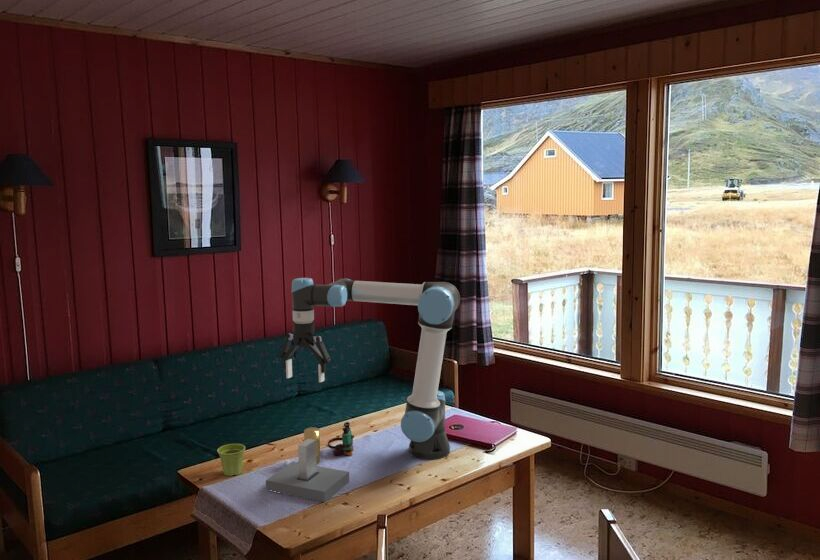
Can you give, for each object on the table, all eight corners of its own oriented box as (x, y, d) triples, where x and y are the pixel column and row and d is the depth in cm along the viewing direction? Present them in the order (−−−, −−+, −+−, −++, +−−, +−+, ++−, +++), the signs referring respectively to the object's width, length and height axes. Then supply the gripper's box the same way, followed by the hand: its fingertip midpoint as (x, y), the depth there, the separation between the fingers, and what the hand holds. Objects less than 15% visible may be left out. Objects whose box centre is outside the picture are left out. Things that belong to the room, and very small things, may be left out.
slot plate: (349, 481, 227) (349, 471, 227) (324, 502, 213) (324, 491, 212) (293, 471, 236) (293, 461, 236) (266, 490, 222) (265, 480, 221)
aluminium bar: (317, 483, 227) (315, 440, 224) (307, 490, 221) (306, 446, 219) (309, 481, 228) (308, 438, 226) (299, 489, 222) (298, 445, 220)
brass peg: (322, 460, 245) (322, 428, 243) (315, 466, 240) (315, 434, 238) (308, 458, 247) (308, 426, 245) (301, 464, 242) (301, 432, 240)
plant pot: (212, 476, 233) (211, 452, 232) (229, 465, 242) (227, 442, 240) (236, 480, 230) (234, 455, 228) (251, 469, 238) (250, 445, 237)
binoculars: (327, 423, 256) (353, 420, 255) (330, 449, 257) (357, 447, 257) (323, 431, 247) (351, 428, 246) (327, 459, 248) (354, 456, 248)
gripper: (268, 321, 244) (270, 378, 247) (328, 326, 234) (330, 385, 237) (280, 317, 251) (282, 373, 254) (339, 322, 241) (340, 380, 244)
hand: (305, 379), depth 246 cm, fingers open, 13 cm apart
